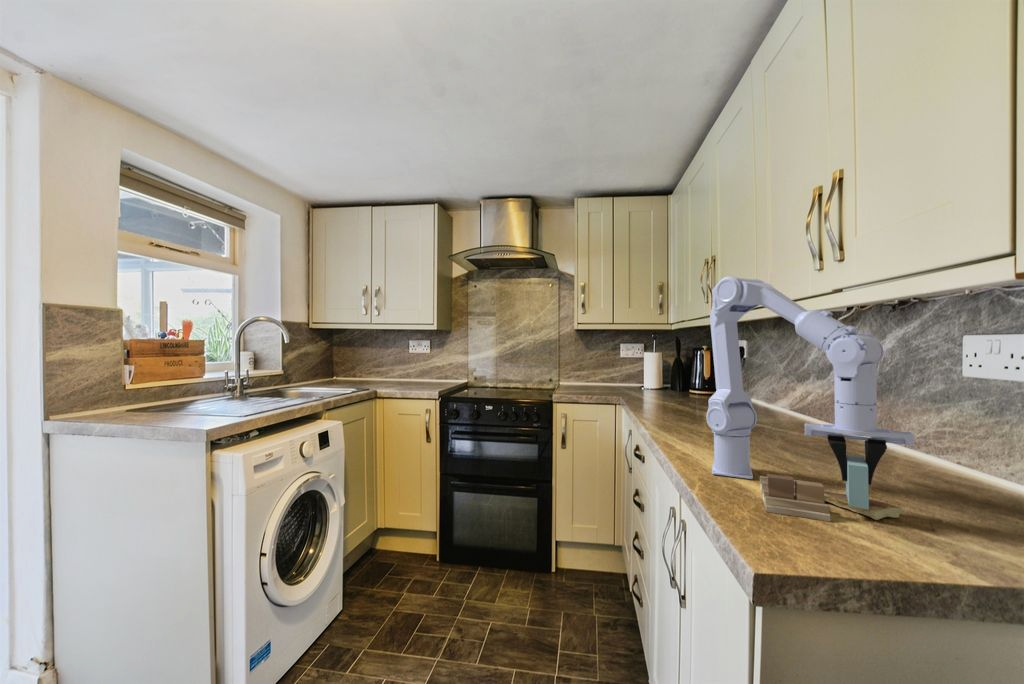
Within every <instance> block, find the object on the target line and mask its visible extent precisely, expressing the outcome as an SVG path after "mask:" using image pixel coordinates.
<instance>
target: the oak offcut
mask: <svg viewBox="0 0 1024 684" xmlns="http://www.w3.org/2000/svg"><path fill="white" fill-rule="evenodd" d="M794 480H795V500H798V501H805V502H813V503H820V504H824V492H825V487H824V485H823V484H822V483H821V482H814V481H807V482H806V481H805V480H799V479H798V480H799V481H798V480H797V479H794Z"/></svg>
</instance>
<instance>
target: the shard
mask: <svg viewBox="0 0 1024 684" xmlns="http://www.w3.org/2000/svg"><path fill="white" fill-rule="evenodd" d="M824 499H825V502H828V503H830V504H833V505H834V506H837V507H839V508H843V509H847V510H848V511H849V510H850V511H852V512H855V513H858V514H861V515H864V516H867V517H869V518H872V519H873V520H876V521H878V520H880V519H884V518H893V519H895V518H900V515H901V513H902V512H903V508H902V507H901V506H898V505H894V504H890V503H887V502H885V501H884V502H883V501H880V500H877V499H871V498H869V509H863V508H857V507H851V506H849V503H848V499H847V494H846V493H845V494H844V493H837V492H829V491H824Z"/></svg>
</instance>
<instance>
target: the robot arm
mask: <svg viewBox="0 0 1024 684" xmlns="http://www.w3.org/2000/svg"><path fill="white" fill-rule="evenodd" d="M711 292H712V307H711V310H710V314H709V320H710V323H709V324H710V334H711V344H712V345H711V346H712V357H713V366H714V368H713V369H714V378H715V380H714V381H715V389H716V391H715V392H714V393H713V394H712V395H711V396H710V397H709V399H708V408H707V411H706V416H705V417H706V418H705V420H706V423H707V425H708V427H709V428H710V430H711V433H712V434H713V462H712V468H711V474H712V475H717V476H723V477H732V478H740V479H747V480H748V479H749V480H753V479H754V475H753V470H752V466H751V446H750V445H751V440H750V438H751V436H750V434H752V429H754V428H755V426H756V424H757V422H758V415H757V412H756V409H755V408H754V406H753V403H752V398H751V396H749V394H748V393H746V392H745V390H744V383H743V373H742V362H741V361H742V360H741V352H740V342H739V341H740V340H739V332H738V331H739V330H738V322H739V320H741V319H742V317H744V316H745V315H746V314H747V313H749V312H750V311H753V310H754V309H756V308H758V307H759V306H762V307H764V308H765V309H768V310H769V311H771V312H773V313H775V314H776V315H777V316H780V317H782V318H783V319H785V320H786V321H788V322H790V323H791V324H794V329H795V333H796V334H797V335H799V336H800V337H801V338H802V339H804V340H805V341H807V342H808V343H810V344H812V345H813V346H815V347H816V348H818V349H819V350H820V351H822V352H824V353H825V355H826V358H827V360H828V361H829V362H830V363H831V364H832V367H833V374H834V375H833V380H834V381H833V383H834V384H833V385H834V387H833V388H834V389H833V391H834V395H833V396H834V424H824V423H822V424H821V423H820V424H819V423H806V422H805V423H804V436H808V437H809V436H810V437H811V436H816V437H826V438H827V441H828V445H829V446H830V448H831V450H832V452H833V453H834V455H835V458H836V460H837V462H838V466H839V469H840V474H841V480H842V482H846V481H847V466H846V454H847V442H846V441H847V440H855V441H856V440H858V441H864V454H865V455H864V459H865V461H866V463H867V466H868V486H870V485H872V483H873V482H872V481H873V476H874V473H875V470H876V468H877V467H878V464H879V462H880V461H881V459H882V457H883V456H884V454H885V453H886V452H887V449H888V445H887V444H898V445H904V446H909V447H915V435H914V433H913V432H909V431H900V430H891V429H884V428H878V405H877V404H878V394H877V393H878V391H877V390H878V388H877V387H878V386H877V384H878V382H877V379H878V378H877V364H878V363H879V362H881V360H882V358H883V355H884V348H883V345H882V343H881V341H879V340H878V339H877V338H875V336H874V335H873V334H868V333H858V332H857V327H855V326H853V325H846V324H845V323H843V322H841V321H840V320H838V319H836V318H834V317H832V316H833V315H834V313H833V312H831V311H829V310H821V309H812V310H807V309H806V308H804V307H802V306H801V305H800V304H799V303H797V302H795V301H794V300H792V299H791V298H790V297H788V296H786V294H783V293H782V292H781V291H779V290H778V289H776V288H775V287H774V286H773V285H772V284H770V283H766V282H764V280H761V279H757V278H742V277H741V278H740V277H735V276H725V277H723V278H722V279H720V280H719V282H717V284H716V285H715V286H714V287H713V288H712V290H711ZM846 439H847V440H846Z"/></svg>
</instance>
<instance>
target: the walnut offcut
mask: <svg viewBox="0 0 1024 684" xmlns="http://www.w3.org/2000/svg"><path fill="white" fill-rule="evenodd" d="M766 477H767V496H770V497H777V498H784V499H791V500H794V480H795V479H794V478H793V476H787V475H777V474H771V473H767V474H766Z"/></svg>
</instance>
